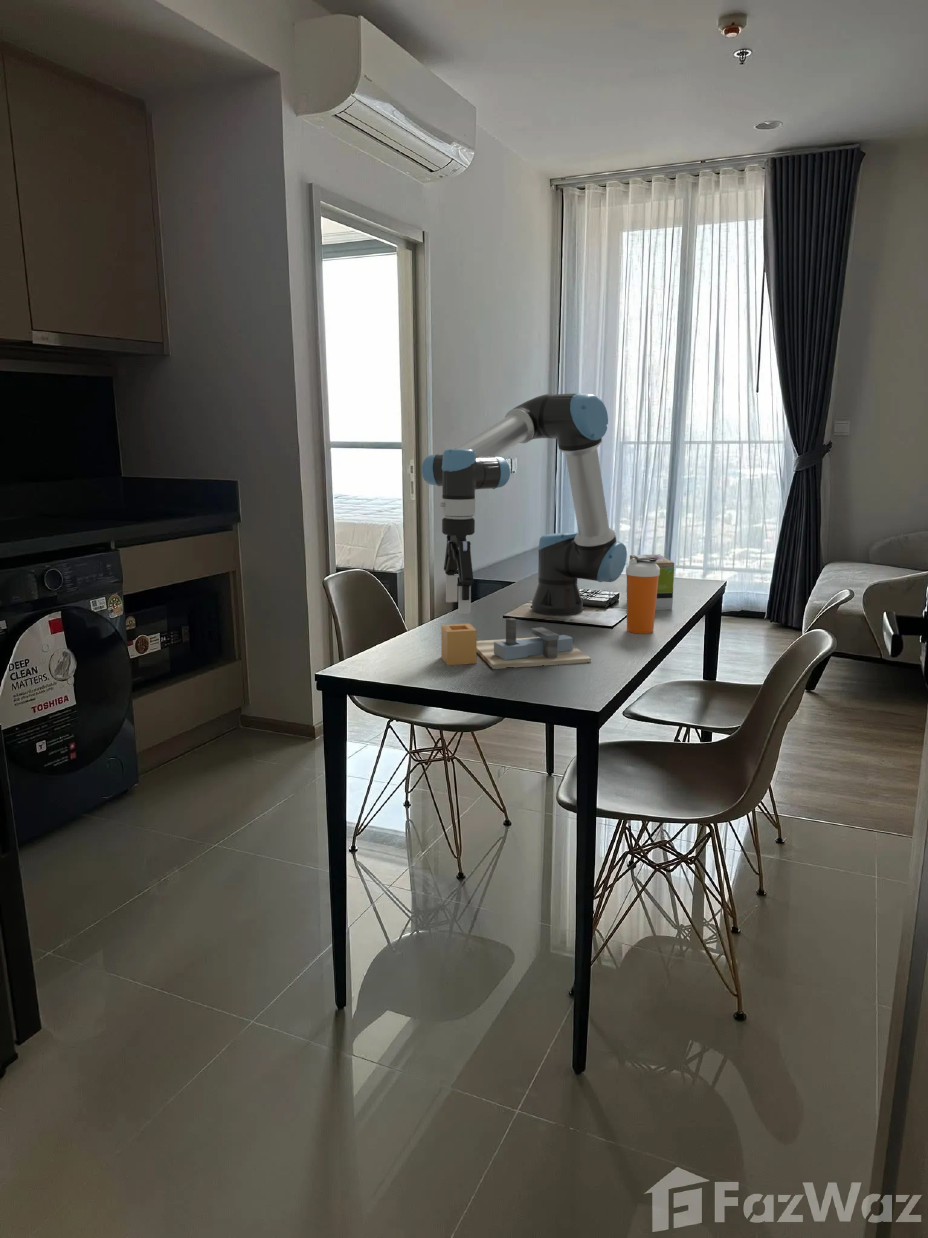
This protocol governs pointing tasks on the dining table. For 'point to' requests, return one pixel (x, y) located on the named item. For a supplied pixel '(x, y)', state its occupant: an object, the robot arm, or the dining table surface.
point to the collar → (458, 644)
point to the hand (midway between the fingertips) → (457, 607)
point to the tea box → (663, 581)
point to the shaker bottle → (641, 594)
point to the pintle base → (547, 658)
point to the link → (529, 647)
